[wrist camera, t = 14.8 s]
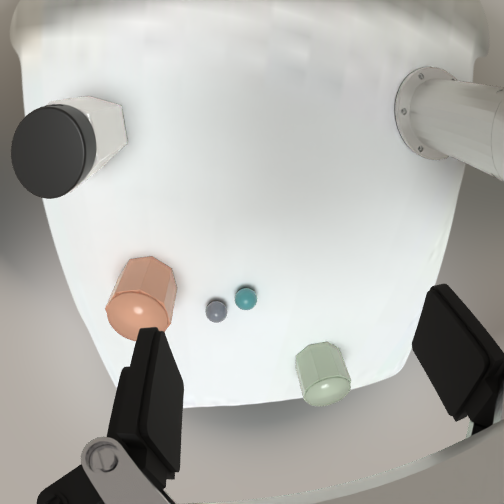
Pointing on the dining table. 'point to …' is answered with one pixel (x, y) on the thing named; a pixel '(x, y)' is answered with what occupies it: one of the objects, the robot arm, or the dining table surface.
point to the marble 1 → (216, 311)
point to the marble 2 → (245, 299)
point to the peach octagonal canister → (142, 297)
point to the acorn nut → (322, 374)
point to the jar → (66, 144)
